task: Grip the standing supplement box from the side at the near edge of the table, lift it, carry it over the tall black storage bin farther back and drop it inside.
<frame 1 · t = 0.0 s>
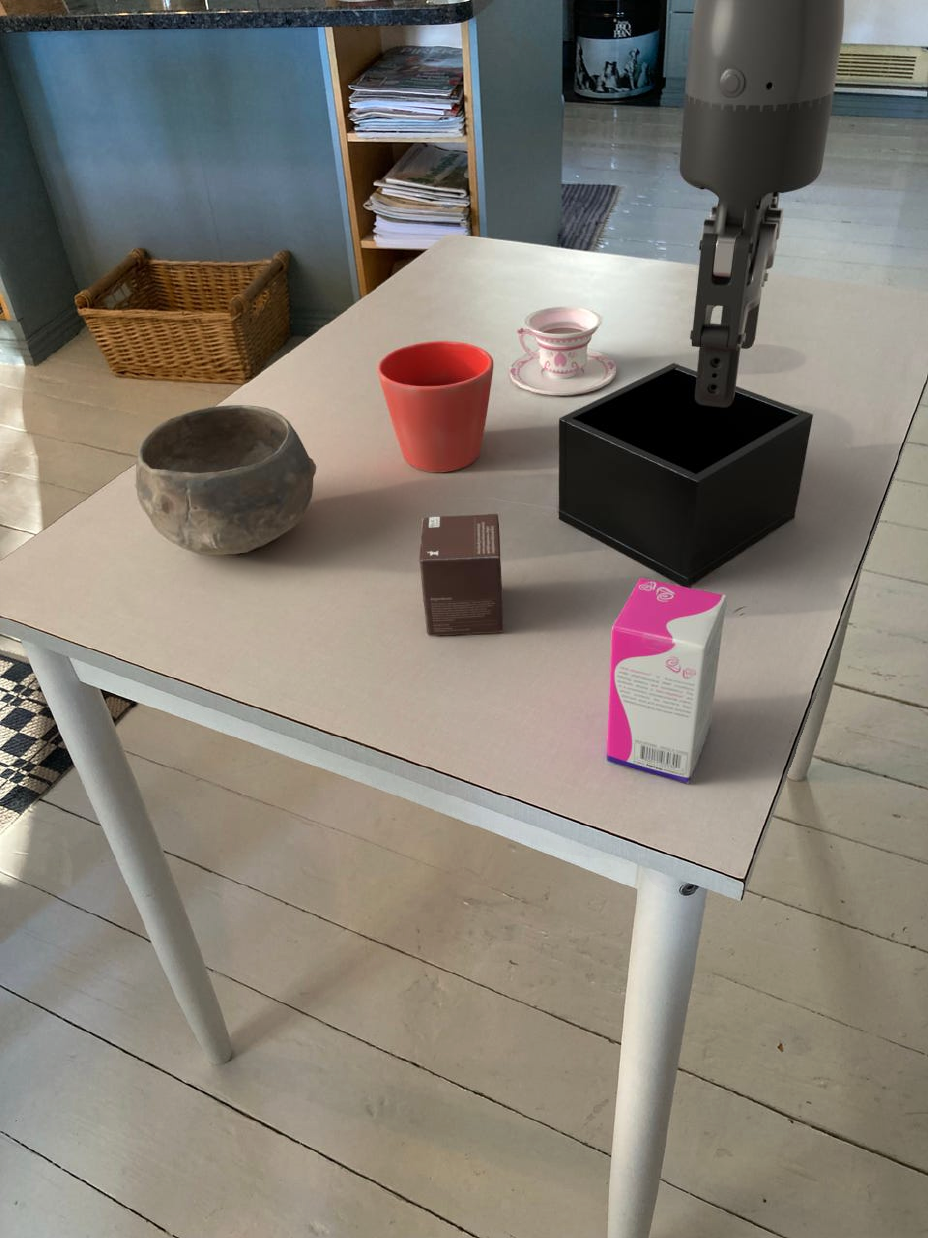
hand: (725, 373, 62), 22 cm above the table, tool pointing down, fingers open, 8 cm apart
box: (465, 614, 79), on the table
supplement box: (658, 745, 67), on the table
black storage bin: (675, 518, 88), on the table
bowl: (242, 535, 90), on the table
flower pot: (442, 455, 100), on the table
teacup: (562, 375, 112), on the table
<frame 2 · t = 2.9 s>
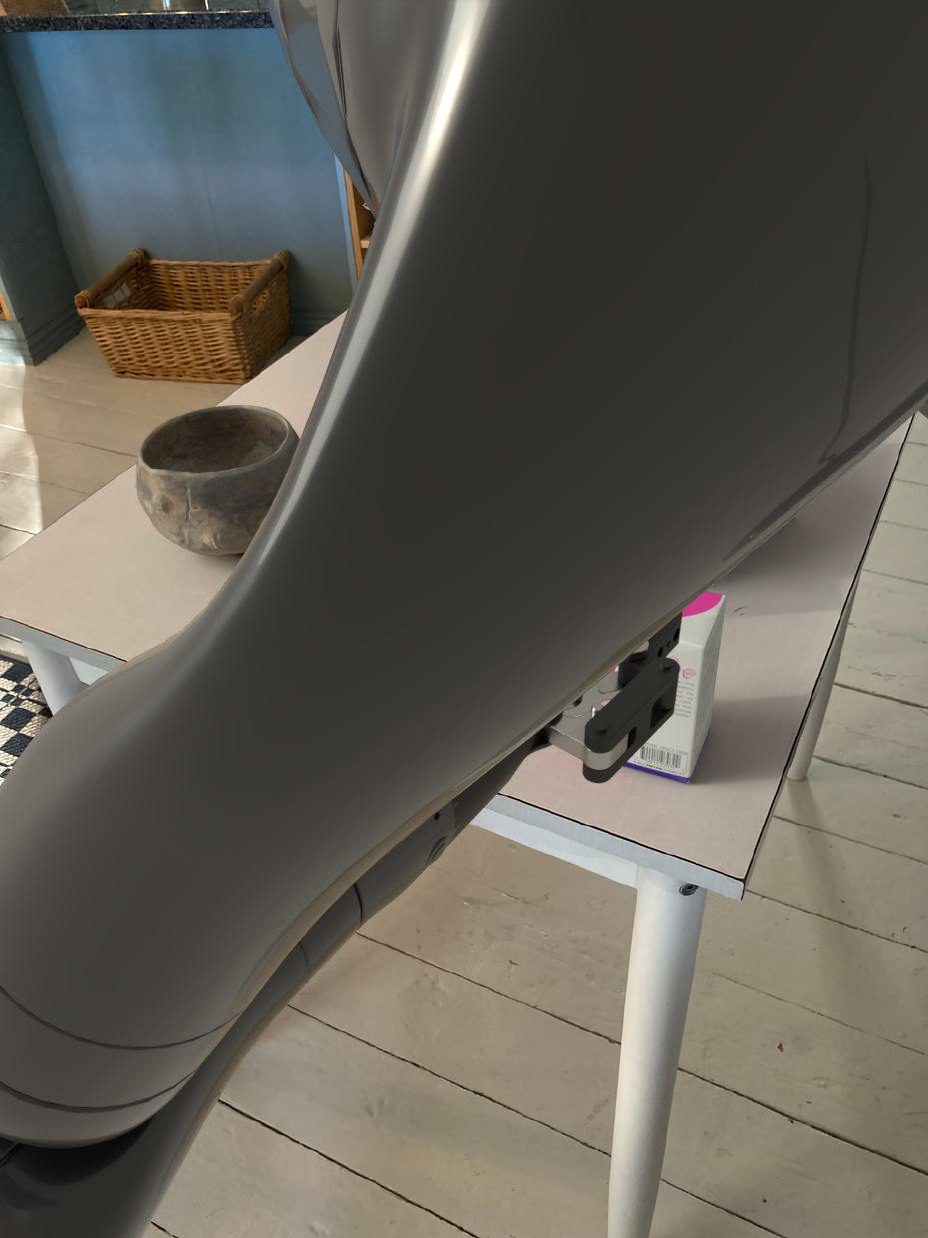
hand: (591, 581, 48), 20 cm above the table, tool horizontal, fingers open, 8 cm apart
nothing on the table moved.
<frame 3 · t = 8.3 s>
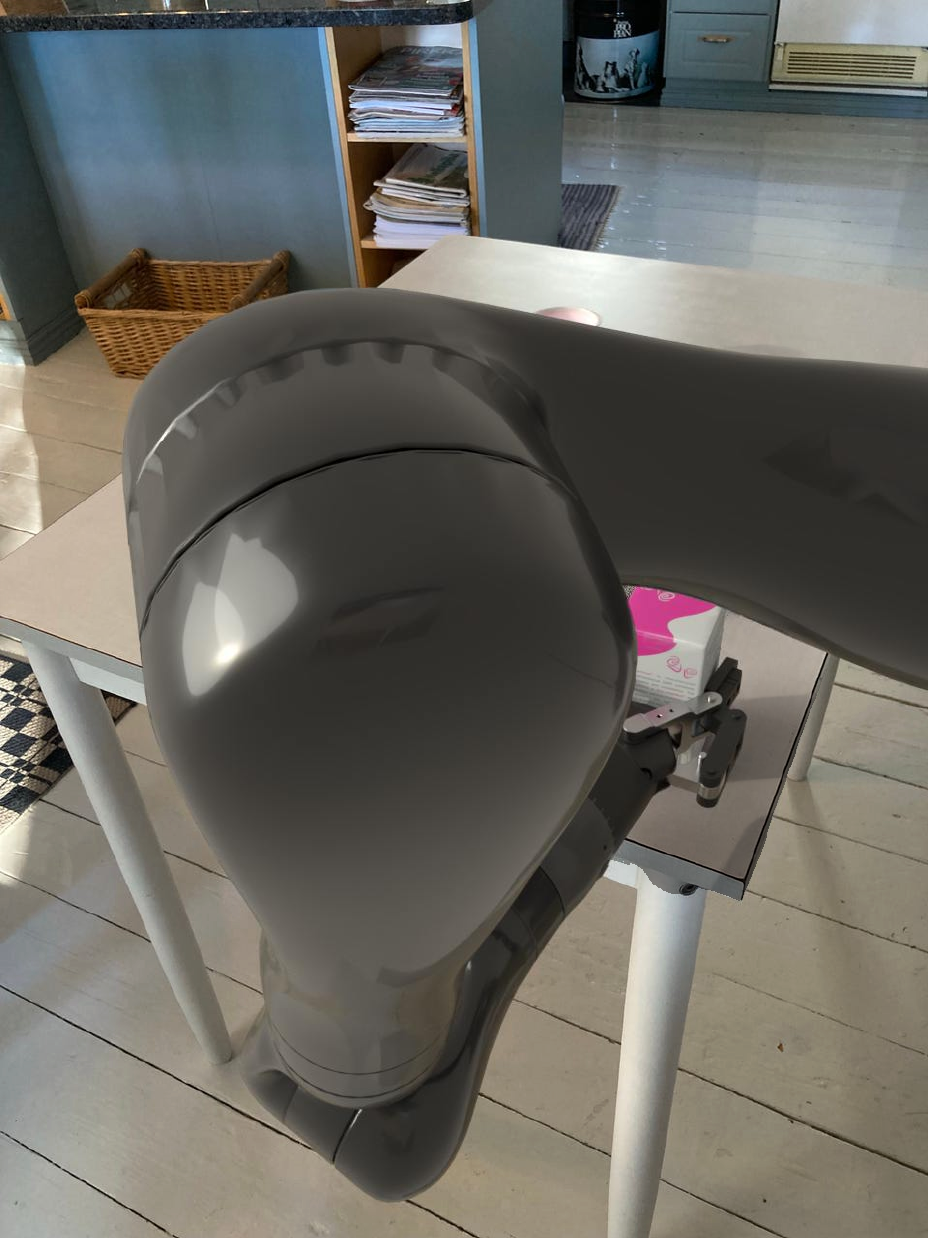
hand: (680, 650, 64), 7 cm above the table, tool horizontal, fingers closed on supplement box, 6 cm apart
supplement box: (658, 745, 67), on the table, touching gripper
everything else where it was.
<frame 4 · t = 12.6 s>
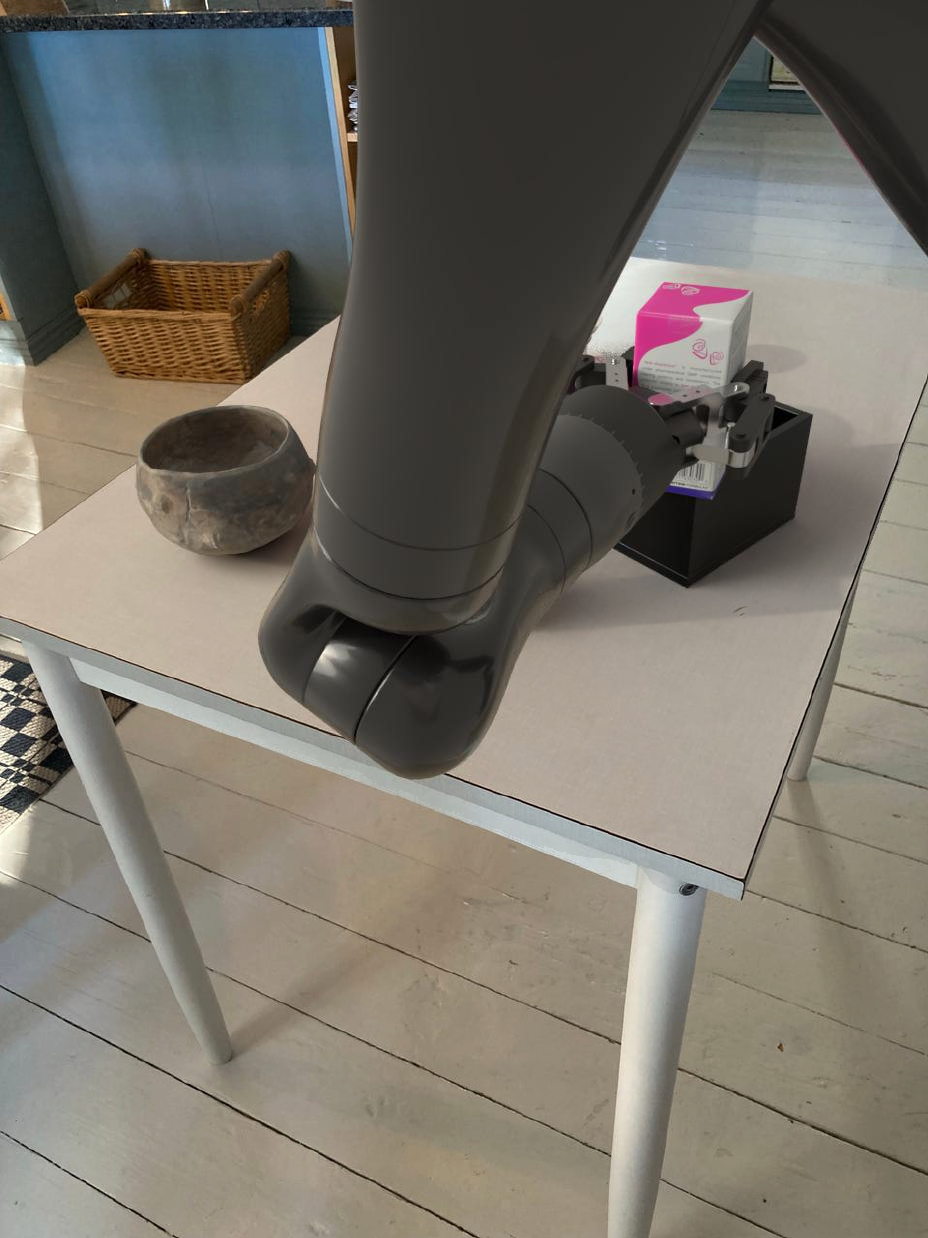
hand: (702, 364, 63), 22 cm above the table, tool horizontal, fingers closed on supplement box, 6 cm apart
supplement box: (679, 474, 65), point 15 cm above the table, touching gripper
everything else where it was.
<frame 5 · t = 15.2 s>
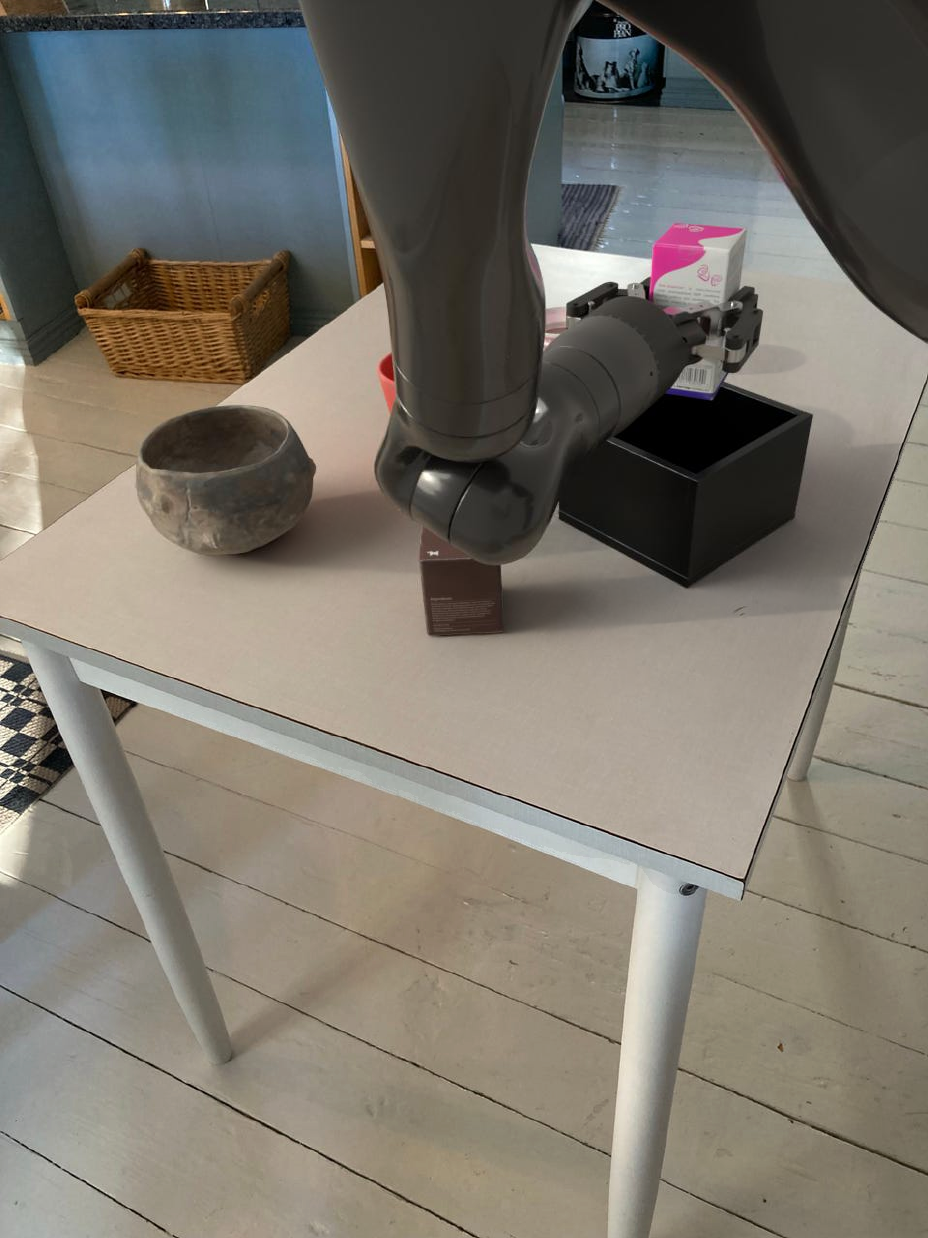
hand: (705, 291, 77), 20 cm above the table, tool horizontal, fingers closed on supplement box, 6 cm apart
supplement box: (685, 383, 80), point 13 cm above the table, touching gripper
everything else where it was.
when the fingers open (15 cm above the table, at t = 17.3 s): supplement box drops 7 cm, resting on black storage bin.
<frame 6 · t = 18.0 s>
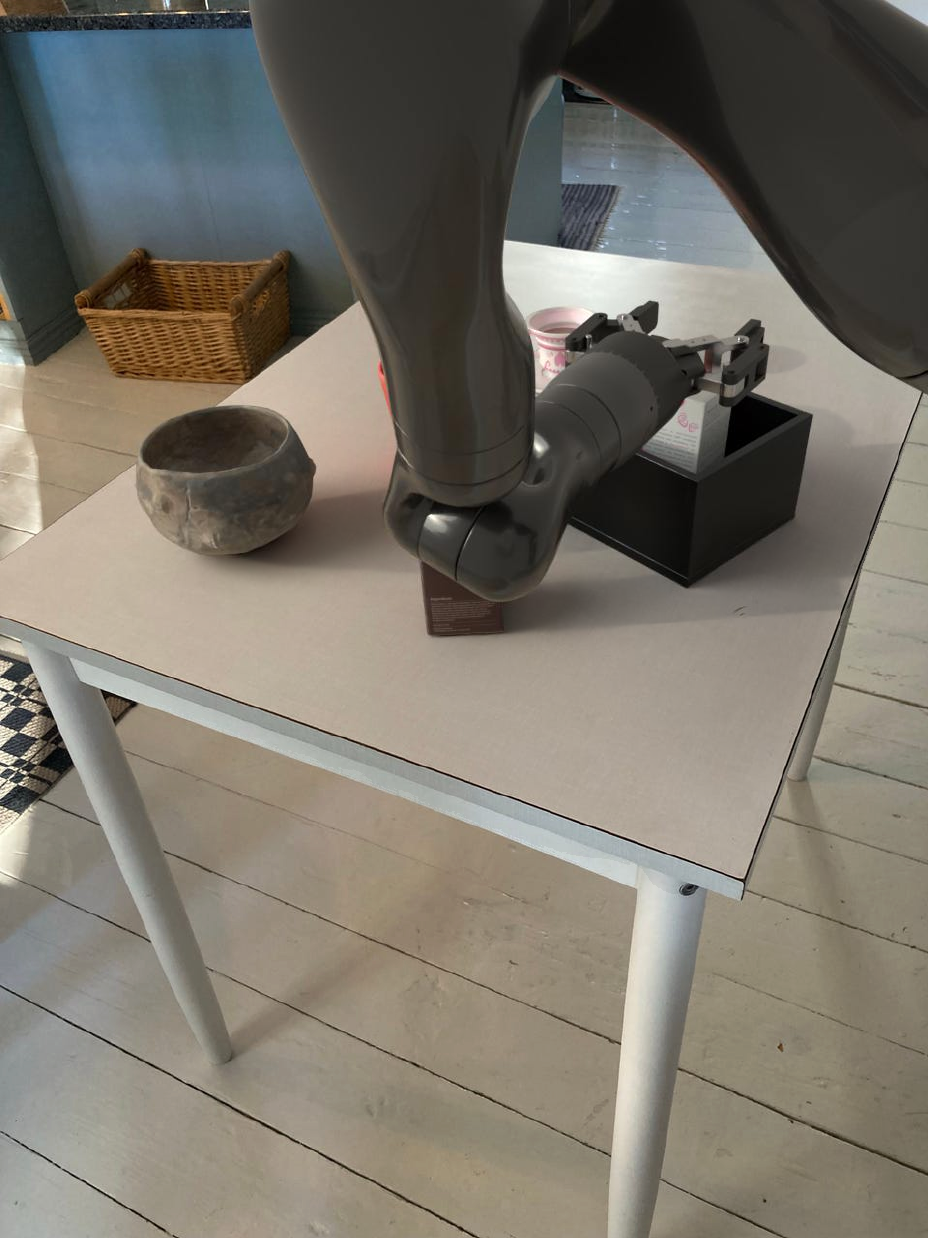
hand: (703, 321, 78), 17 cm above the table, tool horizontal, fingers open, 8 cm apart
supplement box: (674, 509, 87), point 1 cm above the table, touching black storage bin
everything else where it was.
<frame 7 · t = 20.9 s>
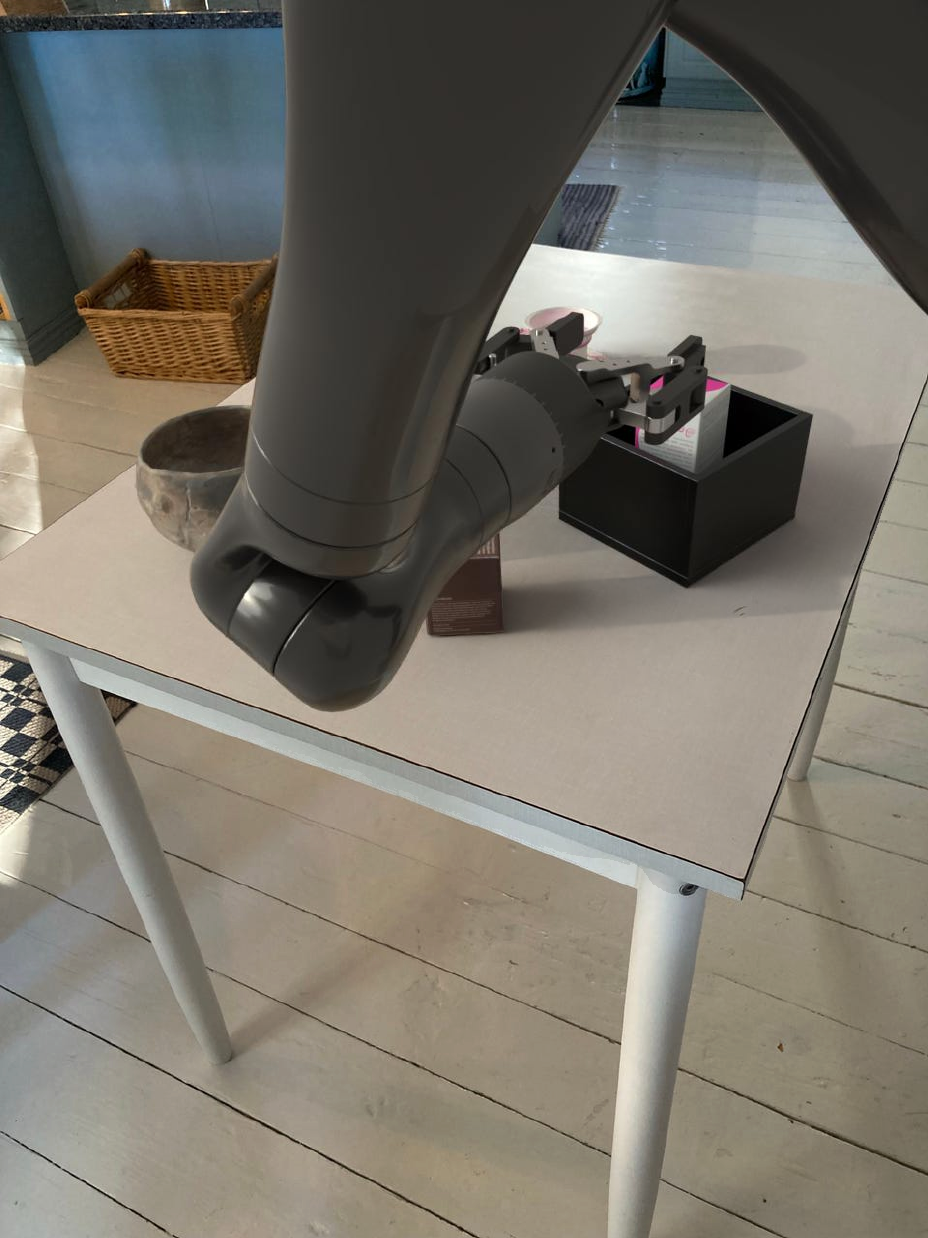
hand: (635, 337, 65), 22 cm above the table, tool horizontal, fingers open, 8 cm apart
nothing on the table moved.
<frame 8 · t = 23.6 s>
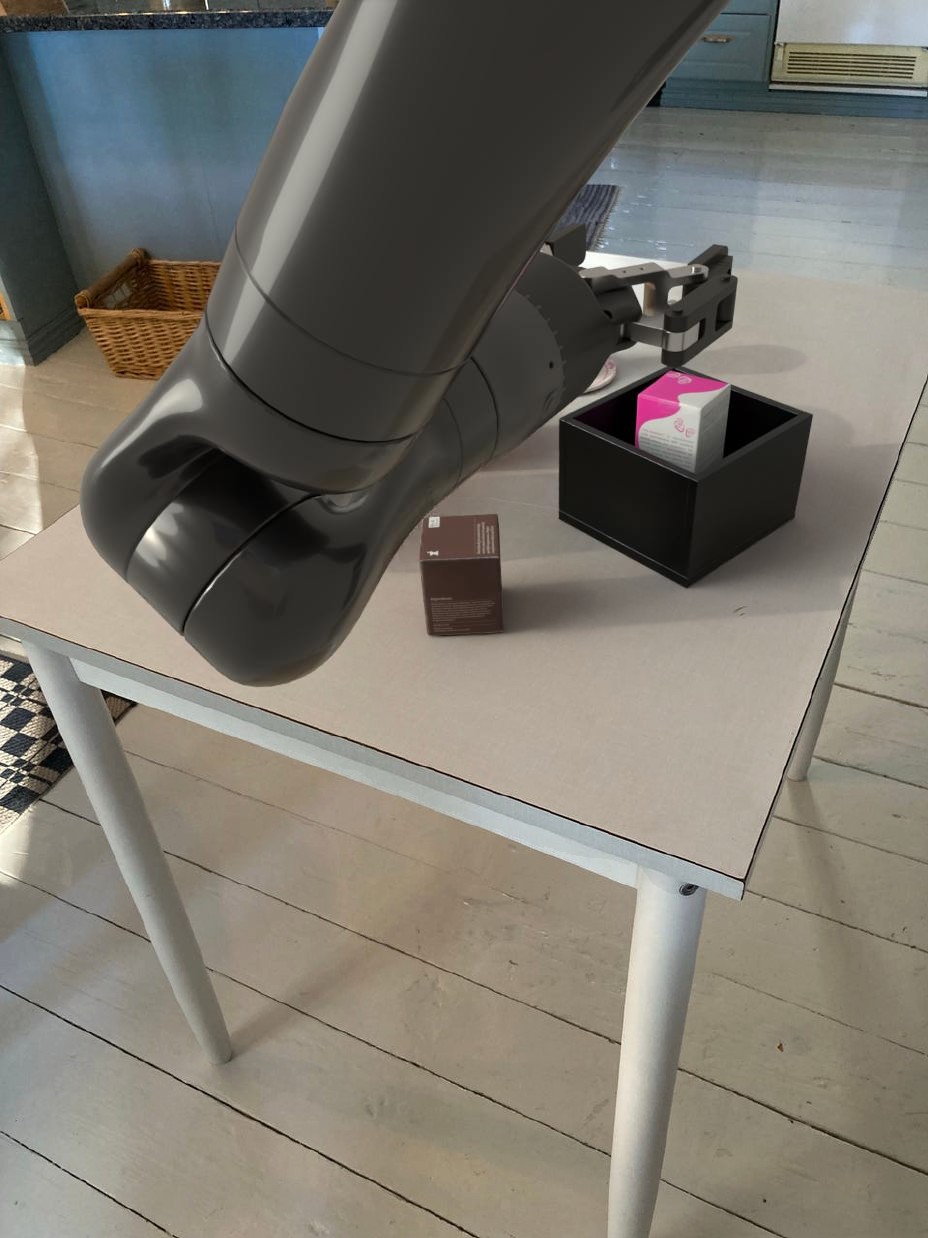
hand: (648, 251, 55), 30 cm above the table, tool horizontal, fingers open, 8 cm apart
nothing on the table moved.
at the end: supplement box inside the target area in the black storage bin (0.1 cm from its centre), point 0.8 cm above the black storage bin's base; the gripper is holding nothing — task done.
